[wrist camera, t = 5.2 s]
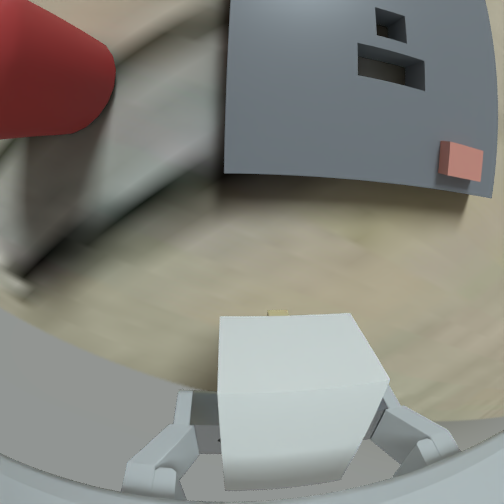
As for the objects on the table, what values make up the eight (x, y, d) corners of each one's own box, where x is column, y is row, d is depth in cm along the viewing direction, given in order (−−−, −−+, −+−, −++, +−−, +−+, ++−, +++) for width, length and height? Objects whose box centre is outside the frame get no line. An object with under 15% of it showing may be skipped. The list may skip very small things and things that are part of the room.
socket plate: (226, 168, 18) (223, 175, 14) (236, -54, 12) (236, -82, 9) (470, 191, 18) (500, 201, 15) (466, 4, 13) (492, -6, 10)
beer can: (134, 100, 16) (-1, 64, 4) (53, 153, 16) (-90, 188, 5) (102, 22, 14) (-11, -53, 2) (27, 77, 14) (-103, 64, 3)
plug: (224, 413, 15) (226, 503, 9) (221, 288, 12) (217, 393, 7) (308, 409, 15) (331, 494, 10) (333, 287, 12) (390, 379, 7)
